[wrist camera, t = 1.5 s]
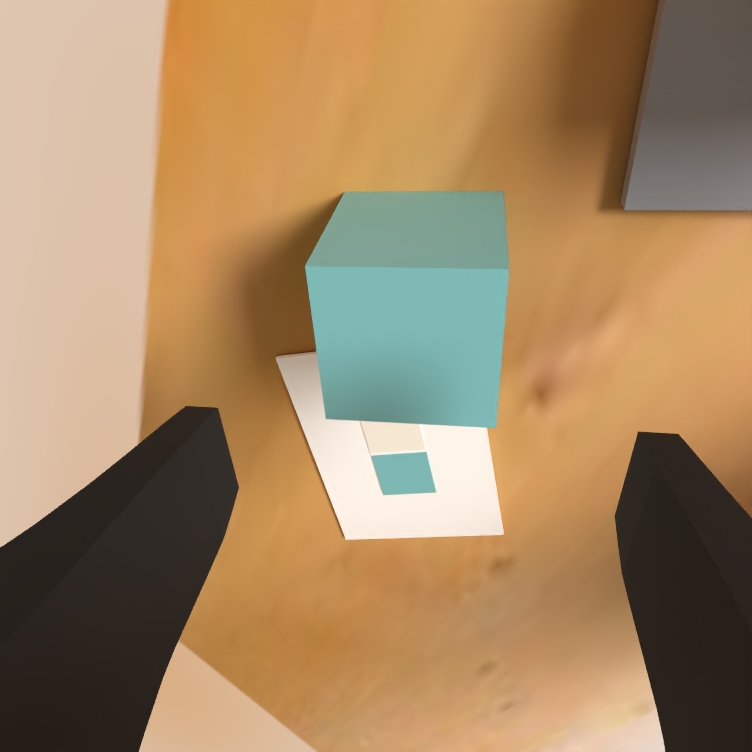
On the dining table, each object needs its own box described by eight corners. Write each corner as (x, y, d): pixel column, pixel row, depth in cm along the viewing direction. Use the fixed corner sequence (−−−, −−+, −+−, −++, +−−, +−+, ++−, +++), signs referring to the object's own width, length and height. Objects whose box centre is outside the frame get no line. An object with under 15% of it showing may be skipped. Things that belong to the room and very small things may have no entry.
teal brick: (493, 328, 20) (495, 427, 16) (356, 324, 21) (325, 419, 17) (503, 190, 17) (509, 269, 13) (345, 190, 18) (304, 266, 14)
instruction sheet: (503, 531, 26) (503, 535, 25) (346, 536, 27) (345, 540, 27) (471, 333, 20) (471, 337, 20) (276, 356, 22) (275, 359, 22)
